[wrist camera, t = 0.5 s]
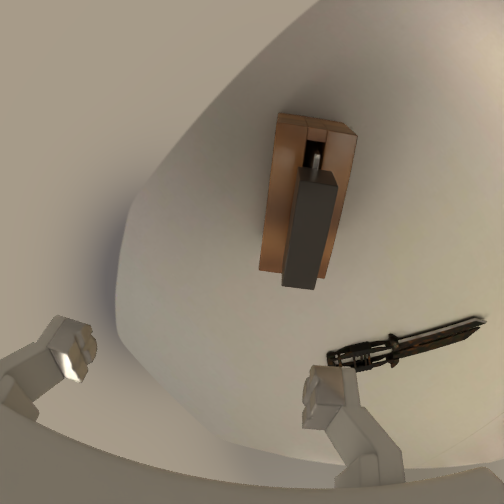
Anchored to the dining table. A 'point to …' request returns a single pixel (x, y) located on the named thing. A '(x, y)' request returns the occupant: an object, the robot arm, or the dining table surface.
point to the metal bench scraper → (308, 221)
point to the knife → (403, 346)
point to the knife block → (284, 178)
